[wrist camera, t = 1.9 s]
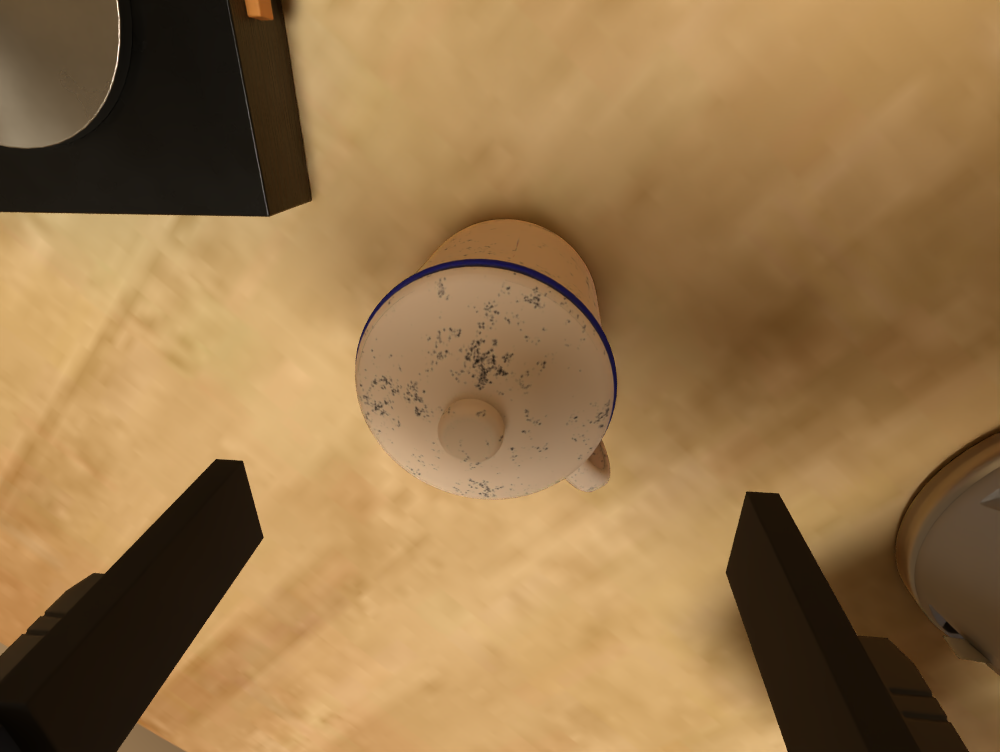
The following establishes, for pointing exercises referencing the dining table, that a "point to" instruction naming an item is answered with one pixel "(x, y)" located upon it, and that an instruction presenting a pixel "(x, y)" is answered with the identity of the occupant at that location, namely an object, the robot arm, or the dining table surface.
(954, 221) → the dining table surface
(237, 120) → the cup warmer
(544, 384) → the teacup with lid
